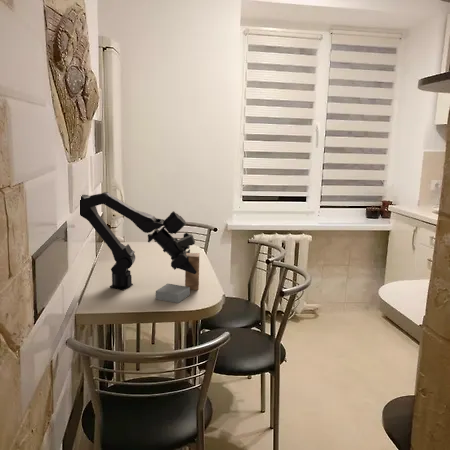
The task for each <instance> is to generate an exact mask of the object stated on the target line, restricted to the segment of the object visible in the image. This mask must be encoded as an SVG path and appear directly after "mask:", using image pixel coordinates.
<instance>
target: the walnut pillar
mask: <svg viewBox="0 0 450 450" xmlns="http://www.w3.org/2000/svg"><path fill="white" fill-rule="evenodd" d="M186 255H187V256H188V255H189V262H190V263H191V265H192V266H193V268H194V269H195V270H196V272H197V273H196V274H193V273H190V272H187V271H184V273H185V274H184V275H185V276H184V277H185V278H184V279H185V280H184V282H185V283H184V286H187V287H190V291H199V289H200V253H199V252H190V253H186Z"/></svg>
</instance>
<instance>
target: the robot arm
mask: <svg viewBox="0 0 450 450" xmlns="http://www.w3.org/2000/svg"><path fill="white" fill-rule="evenodd" d="M81 195H82V196H81ZM81 195H80V196H81V200H80V215H79V216H80V217H82V218H84V219H85V220H87V222H89V224H90V225H91V227H92V228H93V229H94V230H95V231H96V233H97V234H98V235H99V236H100V238H101V239H102V241H103V242H104V243H105V244H106V246H107V247H108V249H110V251H111V252H112V256H113V259H114V261H115V263H114V265H113V266H112V267H111V268H110V270H111V285H110V286H109V288H111V289H116V290H117V289H118V290H122V291H123V290H126V289H128V288H130V287H132V286H134V284H133V283H132V282H133V281H132V274H131V273H132V272H131V270H130V268H131V267H132V266H133V265H134V263H135V261H136V255H135V252H136V251H135V250H133V249H132V247H131V245H130V244H128V243H127V245H125V244H122V243H121V241H120V240H119V239H118V237H117V236H116V235H115V234H114V232H113V231H112V230H111V228H110V226H108V225H107V223H106V221H105V220H104V219H103V218H102V216H101V215H100V214H99V213H98V212H99V211H98V210H97V206H100V205H104V206H106V207H108V208H110V209H111V210H113V211H115V212H116V213H118V214H120V215H121V216H123V217H125V218H127V219H129V220H130V221H131V222H132V223H133V224H134V225H135V226H136V227H137V228H138V229H139V230H140V231H141V232H143V233H145V234H147V242H148V243H151V241H154V242H155V243H156V244H158V246H159V247H161V249H163V250H162V251H163V252H164V253H167V255H168V256H170V259H171V263H170V267H171V268H172V269H173V270H174V271H175V270H182V271H184V272H185V271H187V272H190V273H193V274H196V273H197V272H196V270H195V269H194V268H193V266H192V265H191V263H190V262H189V255H188V256H187V255H186V253H191V249H190V246H193V245H195V243H196V241H195V238H194V235H193V234H191V233H189V232H185V233H183V236H182V237H181V238H180V239H178V237H173V234H175V235H176V234H177V233H179V231H181V230H182V229H183V228H184V227H185V226H186V225H187V222H186V220H185V219H184V218H183V217H182V216H181V215H180V214H179V213H177V212H176V211H172V212H171V213H170V214H169V215H168V217H166V218H165V219H161V218H157V217H155V216H154V215H152V214H149V213H146V212H144V211H140V210H137V209H135V208H134V207H132V206H130V205H128V203H126V202H123V201H122V200H121V199H118V198H117V197H116V196H113V195H112V194H111V193H109V192H107V191H104V192H101V193H98V194H93V195H88V194H81Z"/></svg>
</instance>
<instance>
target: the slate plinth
mask: <svg viewBox="0 0 450 450" xmlns="http://www.w3.org/2000/svg"><path fill="white" fill-rule="evenodd" d="M190 292H191V290H190V287H187V286H185V285H179V284H175V283H166V284H165V285H163V286H161V287H160V288H158V289H157V290H155V300H160V301H164V302H171V303H176V304H179V303H181V302H182V301H184V300H185V299H186V298H187V297H189V296H190Z"/></svg>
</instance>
